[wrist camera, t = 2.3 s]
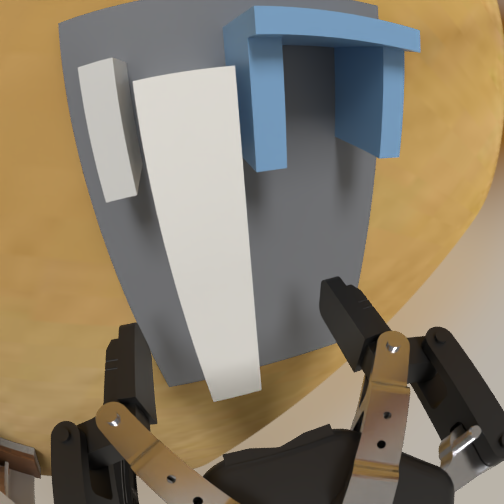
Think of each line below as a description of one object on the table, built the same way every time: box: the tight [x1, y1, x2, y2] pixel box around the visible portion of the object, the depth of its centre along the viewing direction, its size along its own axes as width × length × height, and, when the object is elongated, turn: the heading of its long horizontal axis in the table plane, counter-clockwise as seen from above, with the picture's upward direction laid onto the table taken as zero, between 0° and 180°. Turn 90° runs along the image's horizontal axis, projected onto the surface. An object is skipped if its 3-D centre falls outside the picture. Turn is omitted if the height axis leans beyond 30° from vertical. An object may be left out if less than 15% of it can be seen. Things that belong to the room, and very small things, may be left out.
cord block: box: [132, 66, 262, 402], centre depth 15 cm, size 3×18×4 cm, turn 4°
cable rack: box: [58, 0, 420, 387], centre depth 15 cm, size 16×26×6 cm, turn 4°
